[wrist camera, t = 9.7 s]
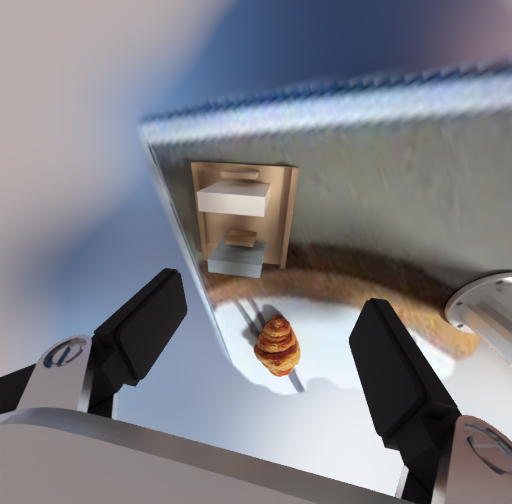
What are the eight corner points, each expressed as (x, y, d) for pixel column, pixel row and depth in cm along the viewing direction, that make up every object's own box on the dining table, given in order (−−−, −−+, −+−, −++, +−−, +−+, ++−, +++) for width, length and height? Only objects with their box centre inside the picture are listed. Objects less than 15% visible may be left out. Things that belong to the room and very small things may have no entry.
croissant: (288, 354, 50) (304, 385, 43) (254, 368, 47) (266, 403, 40) (290, 297, 39) (313, 326, 32) (246, 312, 36) (261, 347, 30)
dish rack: (298, 167, 24) (303, 173, 17) (284, 262, 31) (284, 293, 24) (197, 161, 25) (164, 165, 18) (207, 253, 33) (186, 281, 26)
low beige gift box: (270, 184, 24) (265, 197, 18) (269, 199, 25) (263, 216, 18) (221, 180, 25) (196, 191, 18) (221, 195, 26) (198, 211, 19)
